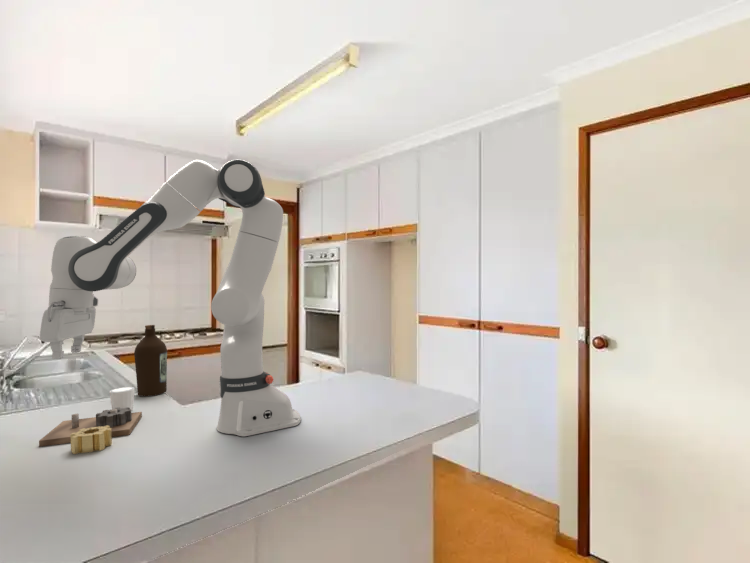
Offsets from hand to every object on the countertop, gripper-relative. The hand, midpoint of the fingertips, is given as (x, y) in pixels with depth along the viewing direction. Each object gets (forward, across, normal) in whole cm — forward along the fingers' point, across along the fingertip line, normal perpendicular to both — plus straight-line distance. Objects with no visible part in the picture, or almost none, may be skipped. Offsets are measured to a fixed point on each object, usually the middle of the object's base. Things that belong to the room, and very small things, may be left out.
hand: (67, 355), depth 105 cm
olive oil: (+22, +49, -8) cm, 54 cm away
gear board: (+22, +11, -4) cm, 25 cm away
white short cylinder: (+22, +28, -5) cm, 36 cm away
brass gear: (+22, -3, -8) cm, 24 cm away
